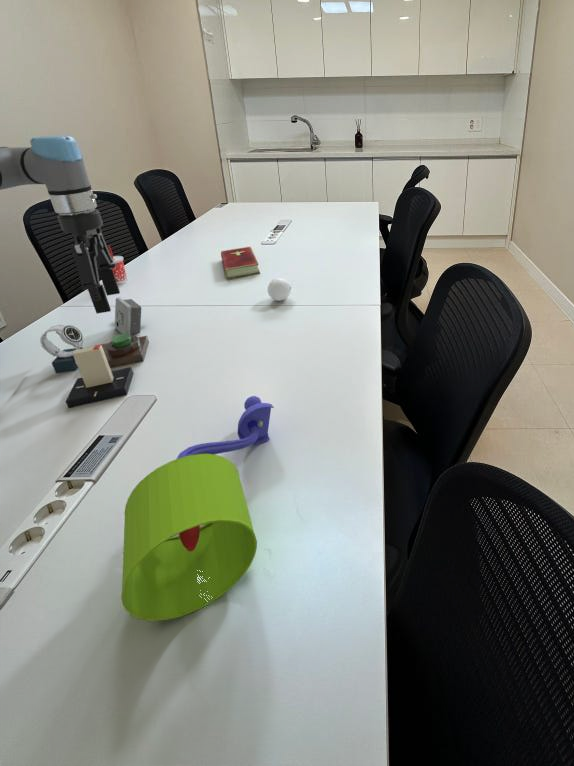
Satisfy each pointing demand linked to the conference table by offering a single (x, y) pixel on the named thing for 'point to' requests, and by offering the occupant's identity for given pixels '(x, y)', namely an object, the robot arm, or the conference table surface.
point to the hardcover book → (239, 262)
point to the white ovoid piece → (279, 289)
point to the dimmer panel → (100, 389)
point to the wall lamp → (190, 527)
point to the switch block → (126, 352)
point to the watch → (65, 357)
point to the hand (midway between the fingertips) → (108, 302)
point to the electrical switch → (127, 316)
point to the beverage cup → (118, 268)
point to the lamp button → (121, 340)
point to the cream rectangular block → (93, 366)
